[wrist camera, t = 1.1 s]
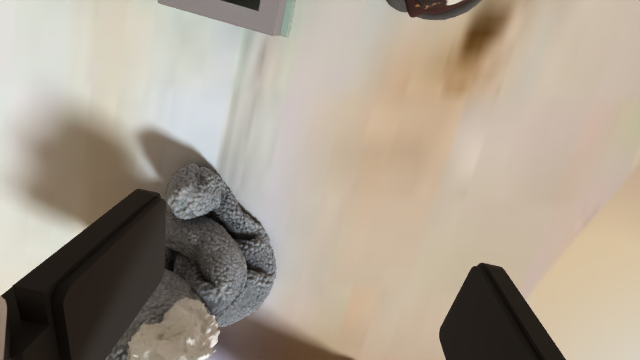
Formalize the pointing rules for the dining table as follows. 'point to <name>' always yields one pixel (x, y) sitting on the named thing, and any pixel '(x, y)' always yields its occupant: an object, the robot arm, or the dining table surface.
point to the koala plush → (200, 272)
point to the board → (243, 13)
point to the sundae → (433, 8)
